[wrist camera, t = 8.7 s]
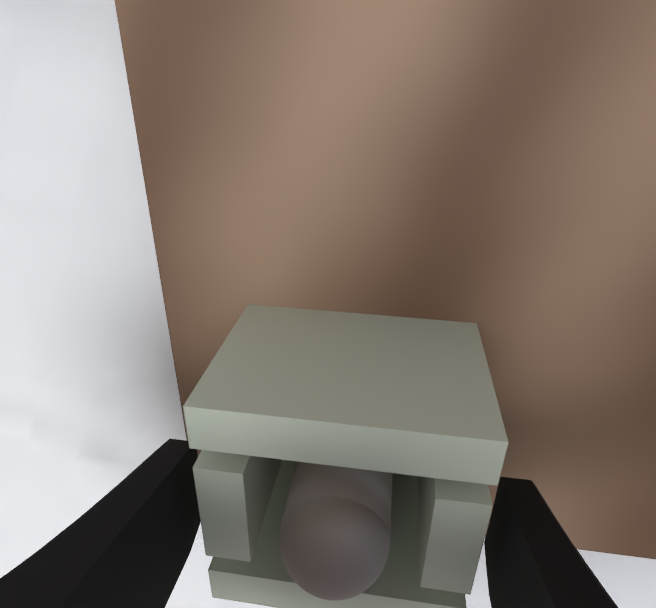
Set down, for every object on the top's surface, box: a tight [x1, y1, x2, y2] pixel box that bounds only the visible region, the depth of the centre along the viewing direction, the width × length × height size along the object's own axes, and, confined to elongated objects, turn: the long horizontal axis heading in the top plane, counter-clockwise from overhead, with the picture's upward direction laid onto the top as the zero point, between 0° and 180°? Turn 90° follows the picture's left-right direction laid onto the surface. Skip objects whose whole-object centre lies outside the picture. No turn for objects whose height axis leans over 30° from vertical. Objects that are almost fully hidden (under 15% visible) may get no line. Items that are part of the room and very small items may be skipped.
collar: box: [183, 304, 508, 608], centre depth 11 cm, size 6×6×4 cm
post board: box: [115, 0, 656, 601], centre depth 9 cm, size 15×19×6 cm
